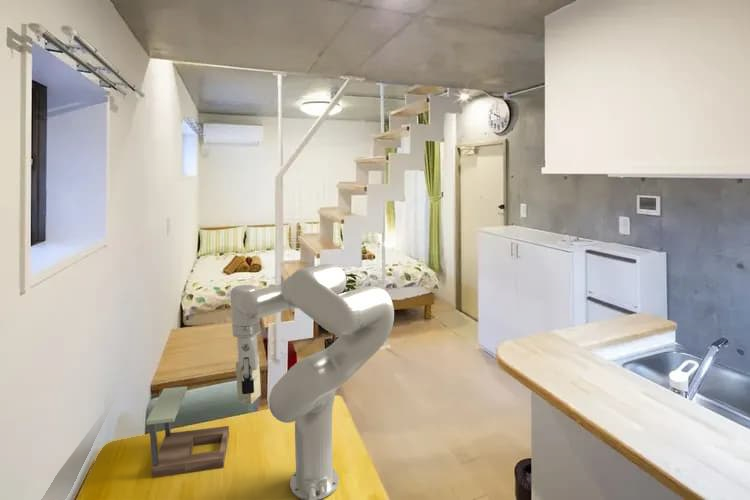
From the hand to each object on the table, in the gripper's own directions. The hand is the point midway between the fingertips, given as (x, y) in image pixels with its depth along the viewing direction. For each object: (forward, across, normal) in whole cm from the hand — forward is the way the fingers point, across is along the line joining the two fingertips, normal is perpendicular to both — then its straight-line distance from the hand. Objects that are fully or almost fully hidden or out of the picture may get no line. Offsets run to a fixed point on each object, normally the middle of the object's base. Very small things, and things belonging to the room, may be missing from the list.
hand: (249, 386), depth 121 cm
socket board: (+19, 0, +16) cm, 25 cm away
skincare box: (+4, 0, 0) cm, 4 cm away
